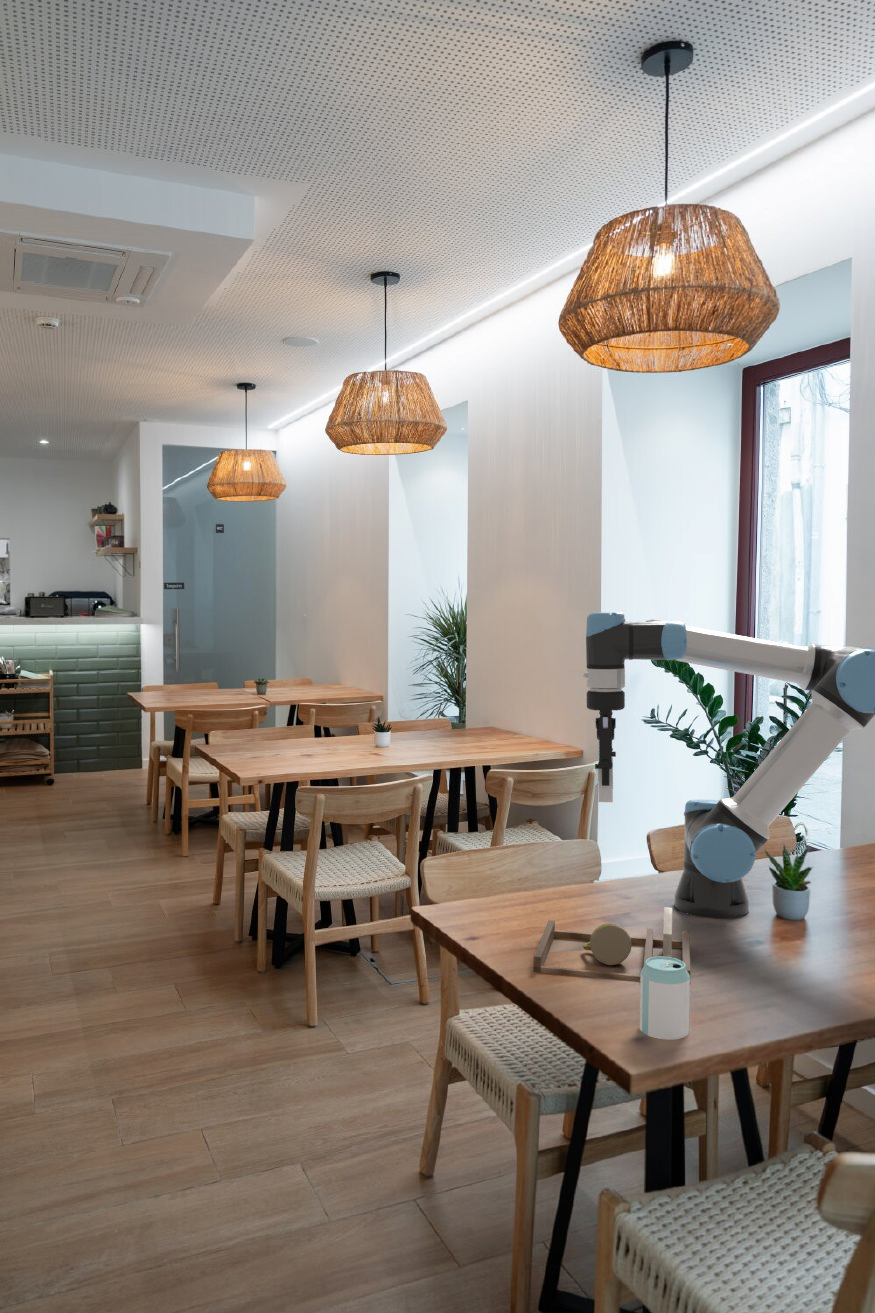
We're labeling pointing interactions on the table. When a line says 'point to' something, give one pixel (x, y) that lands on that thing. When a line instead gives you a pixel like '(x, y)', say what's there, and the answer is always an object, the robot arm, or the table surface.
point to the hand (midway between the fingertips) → (606, 795)
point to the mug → (609, 944)
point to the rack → (576, 940)
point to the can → (664, 998)
